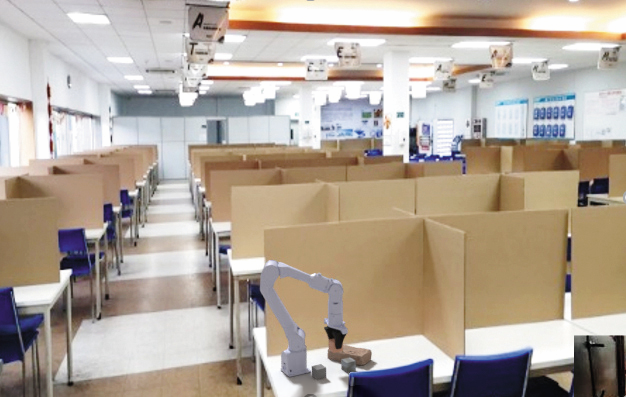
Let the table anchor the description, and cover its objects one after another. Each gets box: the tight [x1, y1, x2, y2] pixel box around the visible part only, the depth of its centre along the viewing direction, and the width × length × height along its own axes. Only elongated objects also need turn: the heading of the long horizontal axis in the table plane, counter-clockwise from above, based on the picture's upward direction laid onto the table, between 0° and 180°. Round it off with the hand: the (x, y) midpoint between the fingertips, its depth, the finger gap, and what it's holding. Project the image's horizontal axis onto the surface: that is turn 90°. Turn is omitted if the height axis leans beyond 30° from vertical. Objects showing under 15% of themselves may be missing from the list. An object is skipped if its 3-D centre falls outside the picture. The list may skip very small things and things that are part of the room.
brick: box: [327, 344, 373, 366], centre depth 226 cm, size 17×8×5 cm, turn 57°
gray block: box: [311, 363, 327, 381], centre depth 209 cm, size 4×4×4 cm
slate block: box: [340, 358, 357, 374], centre depth 215 cm, size 4×4×4 cm
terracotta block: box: [328, 339, 344, 353], centre depth 214 cm, size 4×4×4 cm
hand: (335, 346), depth 214 cm, fingers closed on terracotta block, 4 cm apart
